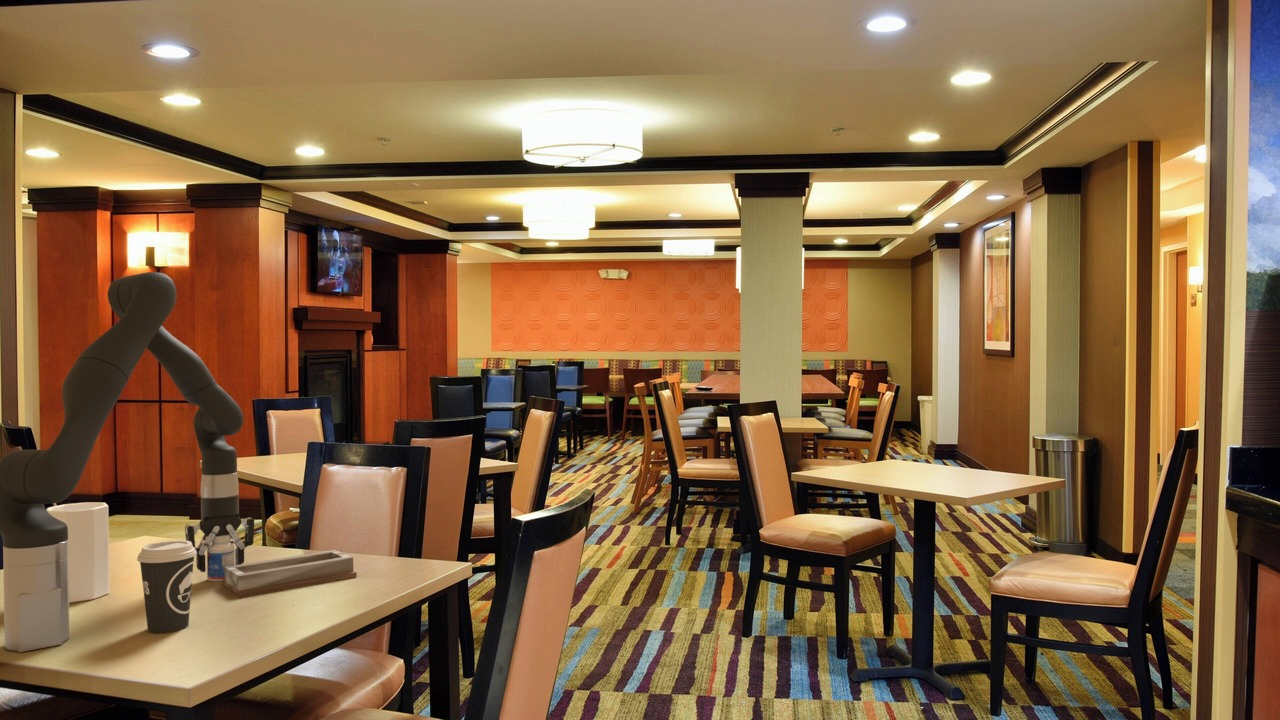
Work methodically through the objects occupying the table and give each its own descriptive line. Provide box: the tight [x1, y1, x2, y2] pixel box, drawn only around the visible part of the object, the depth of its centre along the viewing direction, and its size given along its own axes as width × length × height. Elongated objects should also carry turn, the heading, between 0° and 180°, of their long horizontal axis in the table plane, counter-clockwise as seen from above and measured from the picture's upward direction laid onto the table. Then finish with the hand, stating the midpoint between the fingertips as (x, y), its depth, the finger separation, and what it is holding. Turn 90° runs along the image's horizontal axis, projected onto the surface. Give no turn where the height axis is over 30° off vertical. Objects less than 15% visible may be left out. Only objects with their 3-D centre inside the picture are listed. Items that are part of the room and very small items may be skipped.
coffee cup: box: [136, 540, 197, 634], centre depth 158 cm, size 10×10×15 cm
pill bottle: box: [206, 535, 235, 583], centre depth 193 cm, size 6×5×10 cm
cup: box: [45, 501, 110, 604], centre depth 180 cm, size 11×11×18 cm
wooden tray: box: [222, 549, 358, 598], centre depth 191 cm, size 14×24×4 cm, turn 130°
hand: (220, 568), depth 193 cm, fingers open, 7 cm apart
